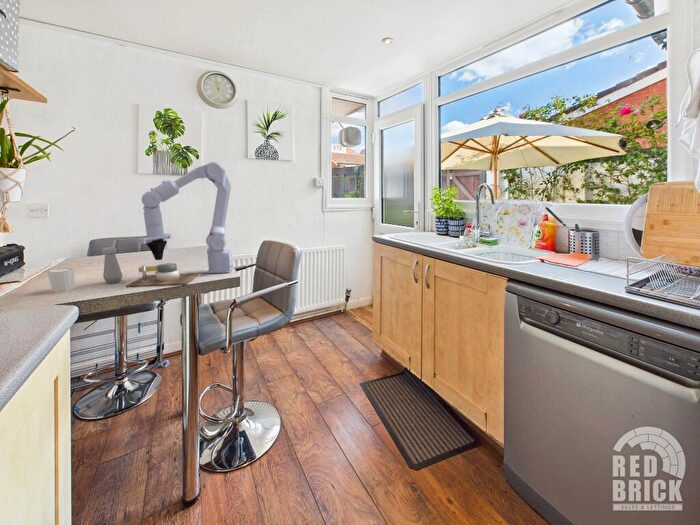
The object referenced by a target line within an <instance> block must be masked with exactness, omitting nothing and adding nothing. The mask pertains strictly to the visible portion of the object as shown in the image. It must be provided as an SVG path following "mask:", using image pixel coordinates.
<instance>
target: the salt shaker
mask: <svg viewBox="0 0 700 525" xmlns="http://www.w3.org/2000/svg"><path fill="white" fill-rule="evenodd" d="M117 251H118V250H117V248H116V247H114V246H109V247H104V248H102V249H101V252H102V255H104V260H103V262H104V263H103V264H104V265H103V275H102V277H103V279H104V281H105V282H106V284H109V283H113V284H117V283H116V282H118V283H121V282H122V278H123V272H122V270H121V267H120V264H119V260H118V258H117V256H116V254H117ZM120 281H121V282H120Z"/></svg>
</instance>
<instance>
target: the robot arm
mask: <svg viewBox="0 0 700 525" xmlns="http://www.w3.org/2000/svg"><path fill="white" fill-rule="evenodd" d="M197 179H208V180H209V181H211V182H212V183H213V185H214V186H215V187H216V189H217V190H216V197H215V198H216V199H215V204H214V210H213V216H212V222H211V227H210V229H209V234H208V235H207V236H206V239H205V242H206V245H207V246H208V248H207V250H206V253H207V262H208V263H207V264H208V270H206V272H205V274H220V273H221V274H222V273H223V274H224V273H225V274H226V273H230V272H232V270H233V269H234V264H233V262H234V261H233V252H232V250H228V249H226V248H225V247H226V245H227V244H226V243H227V242H226V239H225V238H226V237H225V235H226V233H225V227H226V221H227V220H226V219H227V214H228V208H229V203H230V202H229V200H230V195H231V189H232V185H231V183H230V180H229V177H228V175H227V173H226V170H225V168H224V167H223V166H222V165H221V164H220V163H219V162H217V161H211V162H209V163H206V164H204V165H201V166H198V167H195V168H194V169H192V170H190V171H189V172H187V173H185V174H184V175H183V176H180V177H179V178H178V179H177V178H176V179H175V180H170V179H169V180H163V181H161V184H159V185H158V186H156V187H151V188H150V189H149V191H146V192H145V193H144V194H143V195H142V197H141V203H142V204H143V208H142V210H143V218H144V225H145V231H146V235H145V236H144V237H141V238H138V244H140V245H146V246H147V247H148V248H149V250H150V251H151V253H152V255H153V257H154V260H155V261H162V260H163V255H164V252H165V248H166V246H167V243H168V241H167V240H170V239H172V234H171V233H165V232H164V223H163V217H162V212H161V209H160V207H161V206H160V204H161V202H162V203H164V202H166V201H168V200H171V198H174V196H177V195H178V194H179V193H180V192H179V191H180V189H181V188H183V187H184V186H186V185H188V184H190V183H192V182H193V181H195V180H197Z"/></svg>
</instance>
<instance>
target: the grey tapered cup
mask: <svg viewBox="0 0 700 525" xmlns="http://www.w3.org/2000/svg"><path fill="white" fill-rule="evenodd" d="M46 273H47V276H48V279H49V283H50V286H51V289H52V292H53V293H55V292H61V293H66V292H65V291H68V292H71V291H70V290H72V291H74V290H75V288H76V286H75V285H76V284H75V269H74V268H70V267H69V268H68V267H66V268H57V269H56V268H55V269H51V270H48V271H47V272H46ZM73 289H74V290H73Z"/></svg>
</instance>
